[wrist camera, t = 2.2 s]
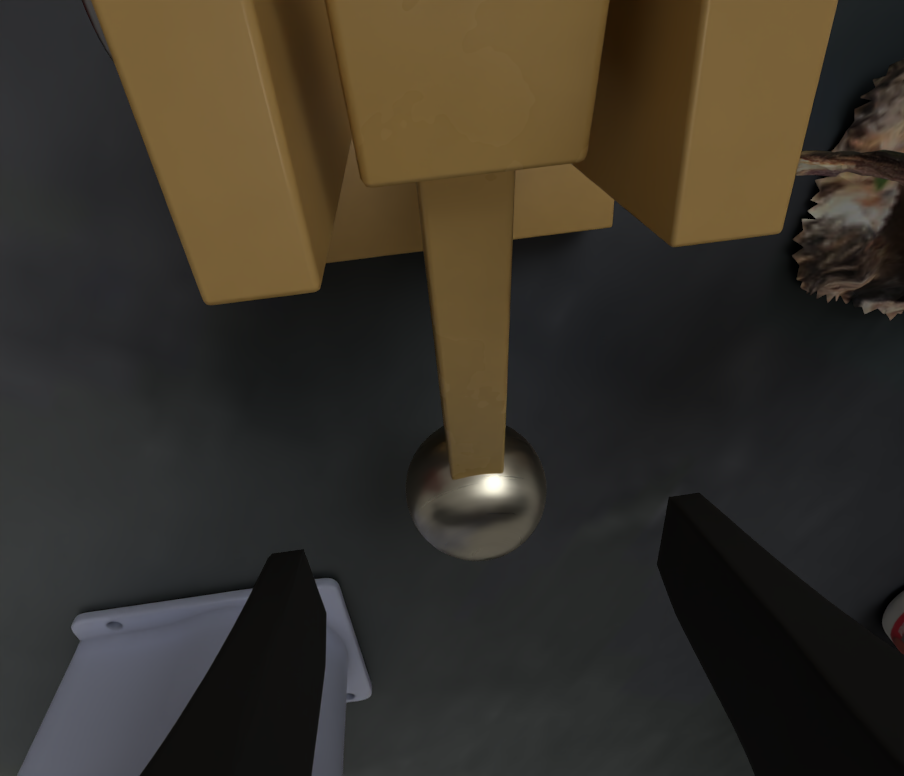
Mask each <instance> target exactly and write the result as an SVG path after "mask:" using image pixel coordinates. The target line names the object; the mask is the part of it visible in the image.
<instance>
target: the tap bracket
mask: <svg viewBox="0 0 904 776" xmlns="http://www.w3.org/2000/svg"><path fill="white" fill-rule="evenodd" d="M82 2H83V5H84V7H85V10H86V12H87V14H88V17H89V19H90V21H91V23H92V25H93V27H94V29H95V31H96V33H97V35H98V37H99V39H100V41H101V43H102V45H103V46H104V48H105V50H106V51H107V53H108V55H109V56H110V58H111V59H112V61H113V62H114V64H115V66H116V69H117V71H118V74H119V77H120V79H121V82H122V85H123V87H124V90H125V93H126V96H127V98H128V101H129V104H130V106H131V109H132V112H133V114H134V117H135V120H136V122H137V125H138V128H139V130H140V133H141V136H142V138H143V141H144V144H145V146H146V149H147V152H148V155H149V157H150V160H151V163H152V165H153V168H154V171H155V173H156V176H157V179H158V181H159V184H160V187H161V189H162V192H163V195H164V197H165V200H166V203H167V205H168V208H169V211H170V213H171V216H172V219H173V222H174V224H175V227H176V230H177V232H178V235H179V238H180V240H181V243H182V246H183V248H184V251H185V254H186V256H187V259H188V262H189V264H190V267H191V270H192V272H193V275H194V278H195V281H196V283H197V286H198V289H199V291H200V294H201V297H202V299H203V301H204V302H205V304H206V305H219V304H226V303H234V302H242V301H250V300H258V299H266V298H273V297H281V296H289V295H297V294H305V293H312V292H316V291H318V290H319V289H320V287H321V282H322V278H323V273H324V268H325V263H332V262H340V261H348V260H356V259H364V258H372V257H380V256H388V255H395V254H403V253H411V252H419V251H423V243H422V234H421V226H420V217H419V209H418V200H417V191H416V183H407V184H399V185H391V186H382V187H374V188H371V187H366V186H365V184H364V183H363V182H362V180H361V179H360V174H359V169H358V164H357V159H356V155H355V150H354V145H353V140H352V135H351V130H350V125H349V120H348V115H347V110H346V105H345V100H344V95H343V90H342V85H341V80H340V75H339V70H338V65H337V60H336V55H335V50H334V45H333V40H332V35H331V30H330V25H329V21H328V16H327V11H326V6H325V1H324V0H82ZM837 3H838V0H610V1H609V8H608V15H607V22H606V29H605V36H604V43H603V49H602V56H601V63H600V70H599V77H598V84H597V91H596V98H595V105H594V111H593V118H592V125H591V132H590V139H589V146H588V152H587V156H586V158H585V160H583V161H581V162H579V163H571V164H563V165H555V166H547V167H539V168H530V169H522V170H515V195H514V221H513V240H514V239H522V238H530V237H538V236H546V235H554V234H562V233H570V232H578V231H586V230H594V229H602V228H609V227H612V223H613V209H614V200H615V201H616V202H618V203H619V204H620V205H621V206H622V207H624V208H625V209H626V210H627V211H629V212H630V213H631V214H632V215H633V216H635V217H636V218H637V219H638V220H639V221H641V222H642V223H643V224H644V225H645V226H647V227H648V228H649V229H650V230H651V231H653V232H654V233H655V234H656V235H657V236H659V237H660V238H661V239H662V240H664V241H665V242H666V243H667V244H668V245H670V246H672V247H680V246H688V245H696V244H704V243H711V242H719V241H727V240H735V239H743V238H751V237H758V236H766V235H774V234H778V233H780V232H781V231H782V229H783V224H784V220H785V216H786V212H787V208H788V204H789V200H790V196H791V192H792V188H793V183H794V179H795V175H796V171H797V167H798V163H799V159H800V155H801V151H802V147H803V142H804V138H805V134H806V130H807V126H808V122H809V118H810V114H811V110H812V106H813V102H814V97H815V93H816V89H817V85H818V81H819V77H820V73H821V69H822V65H823V61H824V56H825V52H826V48H827V44H828V40H829V36H830V32H831V28H832V24H833V20H834V15H835V11H836V7H837Z"/></svg>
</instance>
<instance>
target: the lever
mask: <svg viewBox="0 0 904 776" xmlns="http://www.w3.org/2000/svg"><path fill="white" fill-rule="evenodd" d="M324 1H325V6H326V11H327V16H328V21H329V25H330V30H331V35H332V40H333V45H334V50H335V55H336V60H337V65H338V70H339V75H340V80H341V85H342V90H343V95H344V100H345V105H346V110H347V115H348V120H349V125H350V130H351V135H352V140H353V145H354V150H355V155H356V159H357V164H358V169H359V174H360V179H361V180H362V182H363V183H364V184H365V186H366V187H371V188H374V187H382V186H391V185H399V184H407V183H416V191H417V200H418V209H419V217H420V226H421V234H422V243H423V251H424V260H425V268H426V277H427V286H428V294H429V303H430V311H431V320H432V328H433V337H434V346H435V354H436V363H437V371H438V380H439V388H440V397H441V406H442V414H443V423H444V426H443V427H441V428H439V429H438V430H436V431H435V432H433V433H432V434H431V435H430V436H429V437H428V438H427V439H426V440H425V441H424V442H423V443H422V444H421V445H420V447H419V448H418V450H417V451H416V453H415V454H414V457H413V459H412V461H411V463H410V466H409V469H408V473H407V480H406V499H407V505H408V509H409V512H410V515H411V517H412V519H413V522H414V524H415V526H416V527H417V529H418V530H419V532H420V533H421V534H422V536H423V537H424V538H425V539H426V540H427V541H428V542H429V543H430V544H432V545H433V546H434V547H435V548H437V549H438V550H440V551H442V552H443V553H445V554H447V555H449V556H452V557H455V558H458V559H462V560H468V561H485V560H491V559H495V558H499V557H501V556H504V555H506V554H508V553H510V552H512V551H513V550H515V549H516V548H518V547H519V546H520V545H521V544H523V543H524V542H525V541H526V540H527V539H528V537H529V536H530V535H531V534H532V533H533V531H534V530H535V528H536V527H537V525H538V523H539V521H540V519H541V516H542V514H543V510H544V507H545V502H546V479H545V473H544V470H543V467H542V464H541V461H540V459H539V457H538V455H537V454H536V452H535V450H534V449H533V447H532V446H531V445H530V443H529V442H528V441H527V440H526V439H525V438H524V437H523V436H522V435H520V434H519V433H518V432H516V431H515V430H514V429H512V428H510V427H508V426H506V403H507V377H508V351H509V325H510V299H511V273H512V247H513V221H514V195H515V170H522V169H530V168H539V167H547V166H555V165H563V164H571V163H579V162H581V161H583V160H585V158H586V156H587V152H588V146H589V139H590V132H591V125H592V118H593V111H594V105H595V98H596V91H597V84H598V77H599V70H600V63H601V56H602V49H603V43H604V36H605V29H606V22H607V15H608V8H609V1H610V0H324Z"/></svg>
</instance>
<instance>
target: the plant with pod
mask: <svg viewBox="0 0 904 776" xmlns="http://www.w3.org/2000/svg"><path fill="white" fill-rule="evenodd" d="M873 82H874V85H875V87H876V88H874V89H873V90H871V91H870V92H868V93H866V94H865V95H863V96H862V97H860V98H863V99H868V100H872V101H871V102H869V103H867V104H864V105H862V106H860V107H858V108H856V109H855V121H854V123H853V124H852V125H851V126H850V127H849V128H848V130H847V131H846V133H845V134H844V136H843V138H842V139H841V141H840V142H839V144H838V145H837V146H836V147H835V148H834V149H833V150H832V152H830V151H801V155H800V159H799V163H798V167H797V171H796V175H797V176H798V175H822V176H828V177H826V178H822V179H817V180H815V182H816V184H817V185H818V187H819V189H820V191H819V192H818V193H817V194H816V195H815V196H814V197H813V198H812V199H811V200H812V201H814V202H816V203H818V204H817V205H815V206H814V207H812V208H811V209H809V210H808V212H809V213H810V214H811V215H812V216H814V217H815V218H816V219H817V220H814V219H802V225H803V231H802V232H801V233H799V234H798V235H797V236H796V237H795V238H794V239H793V240H794V241H796V242H797V243H799V244H800V245H801V246H803V247H804V248H802V249H801V250H799V251H798V252H796V253H795V254H793V255H792V257H793V258H794V259H795V260H796V261H797V263H798V264H799V265H800V266H799V270H798V274H797V278H796V279H797V280H799V281H802V284H801V287H800V288H802V289H804V290H805V291H807V293H809V292H811V293H810V295H812V294H813V293H814V292H816V291H817V290H818V291H817V299H818V298H819V297H821V296H823V295H825V294H826V295H827V302H829V301H830V300H831V299H832V298H833V297H834V296H835V295H836V301H837V299H838V297H839V295H840V296H841V297H842V299H843V300H844V302H845V303H846V304H847V303H848V302H849V301H850V300H853V304H854V307H862V308H863V311H864V314H866V313H868V312H871V311H873V310H875V309H877V308H878V309H879V310H880V311H881V312H882V313H883V314H887V316H888V317H889V319H890V321H891V320H892V319H893V318H894V317H895V316H896V315H897V314H898V313H899V314H902V312H903V311H904V59H903V60H901V61H899V62H896V63H894V64H892V65H890V66H889V69H888V72H887V76H884V77H880V78H877V79H873ZM807 293H806V294H807Z"/></svg>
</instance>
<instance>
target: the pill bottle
mask: <svg viewBox="0 0 904 776" xmlns="http://www.w3.org/2000/svg"><path fill="white" fill-rule="evenodd" d="M882 625H883V628H884V631H885V632H886V634H887V635H888V637H889V638H890V639H891V641H892V642H893V643H894V644H895V646H896V647H897V648H898V650H899V651H900V652H901V653H902V654H904V591H902V592H901V593H900V594H898V595H897V596H896V597H895V598H894V599H893V600H892V601H891V602H890V603H889V605H888V606H887V608H886V610H885V612H884V614H883V619H882Z"/></svg>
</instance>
